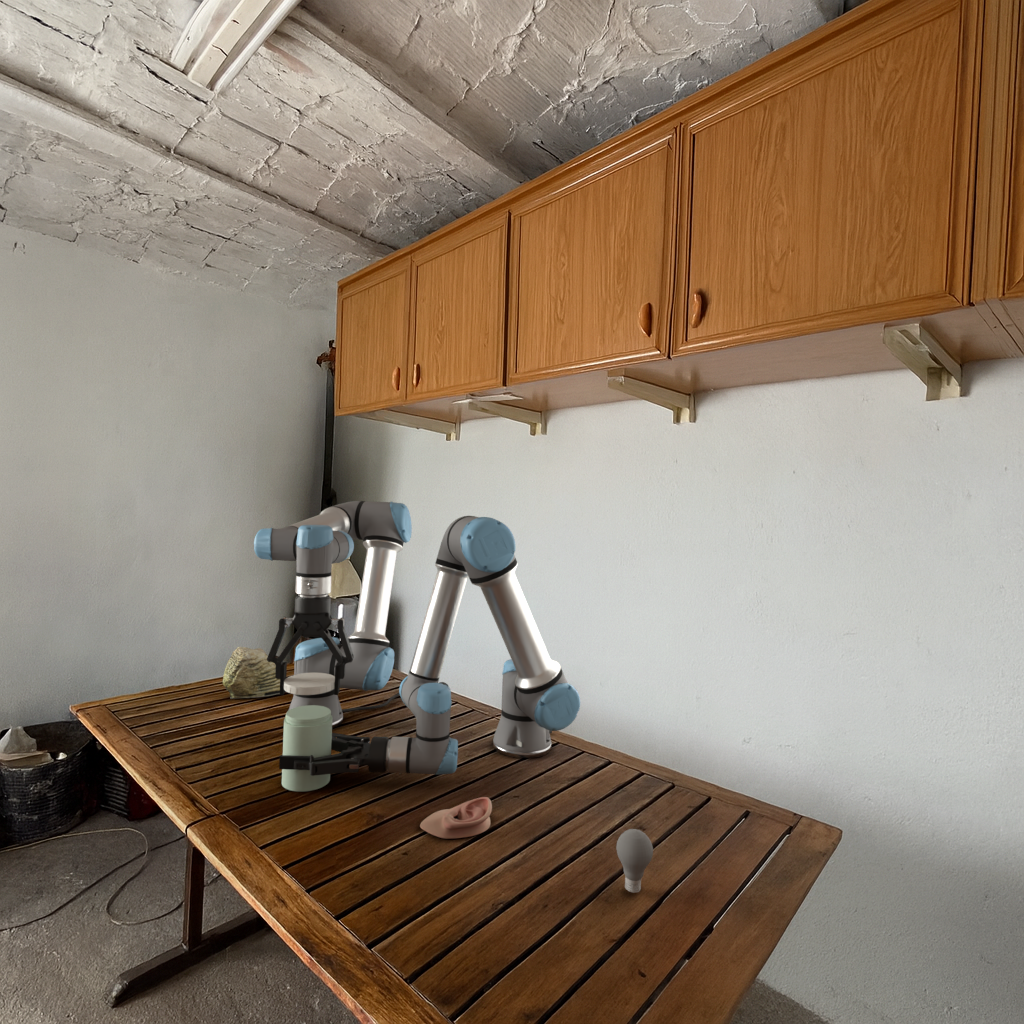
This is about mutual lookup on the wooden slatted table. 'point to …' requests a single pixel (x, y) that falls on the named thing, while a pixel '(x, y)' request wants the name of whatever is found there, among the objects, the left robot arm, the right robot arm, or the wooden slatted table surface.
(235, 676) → the fossil
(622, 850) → the light bulb
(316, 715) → the jar
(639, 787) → the wooden slatted table surface
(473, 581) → the right robot arm
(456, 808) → the anatomical model
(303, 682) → the lid
